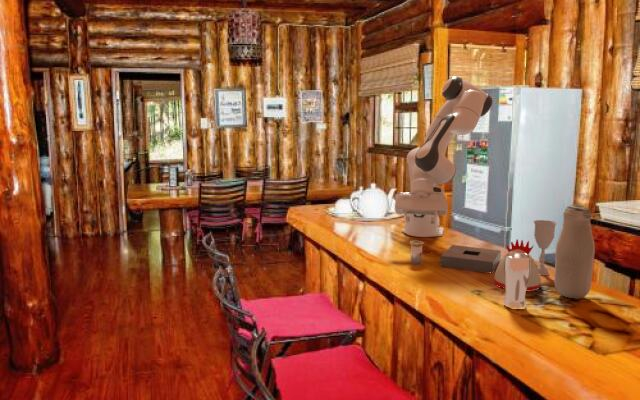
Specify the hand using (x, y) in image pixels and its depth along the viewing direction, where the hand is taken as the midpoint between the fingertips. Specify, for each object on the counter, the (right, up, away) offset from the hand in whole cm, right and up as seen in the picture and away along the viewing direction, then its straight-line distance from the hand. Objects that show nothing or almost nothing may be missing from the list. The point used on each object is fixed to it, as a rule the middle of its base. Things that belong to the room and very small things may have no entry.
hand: (420, 222), depth 202 cm
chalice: (+38, -17, -20) cm, 46 cm away
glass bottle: (+37, -21, -43) cm, 61 cm away
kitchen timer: (+25, -19, -32) cm, 45 cm away
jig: (+17, -15, -8) cm, 24 cm away
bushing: (-3, -15, -8) cm, 17 cm away
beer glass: (+17, -22, -51) cm, 58 cm away
